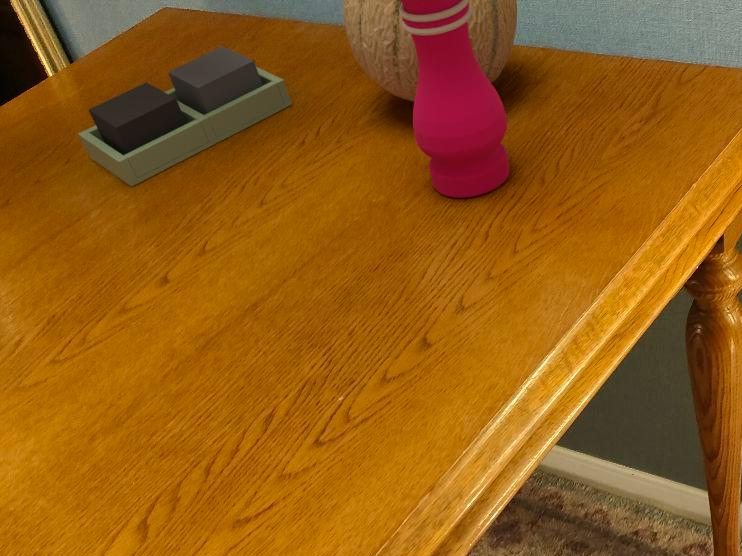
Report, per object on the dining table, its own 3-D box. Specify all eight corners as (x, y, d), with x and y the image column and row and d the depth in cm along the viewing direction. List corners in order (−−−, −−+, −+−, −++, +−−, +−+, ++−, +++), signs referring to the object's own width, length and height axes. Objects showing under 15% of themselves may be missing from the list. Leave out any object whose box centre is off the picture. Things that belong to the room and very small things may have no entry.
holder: (131, 187, 88) (118, 161, 86) (90, 158, 93) (77, 133, 91) (292, 104, 94) (283, 79, 92) (245, 81, 99) (236, 57, 97)
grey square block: (215, 130, 92) (197, 87, 89) (185, 113, 95) (167, 72, 92) (269, 103, 94) (254, 60, 91) (238, 87, 98) (222, 45, 95)
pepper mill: (415, 173, 82) (344, -102, 67) (496, 145, 83) (443, -132, 68) (444, 212, 77) (374, -74, 62) (529, 181, 78) (480, -107, 64)
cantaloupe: (342, 104, 93) (287, -75, 81) (471, 43, 97) (435, -135, 86) (425, 155, 84) (377, -38, 73) (563, 86, 88) (537, -106, 77)
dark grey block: (136, 170, 89) (115, 127, 86) (108, 151, 93) (87, 109, 90) (194, 141, 91) (176, 98, 88) (165, 123, 95) (146, 81, 92)
